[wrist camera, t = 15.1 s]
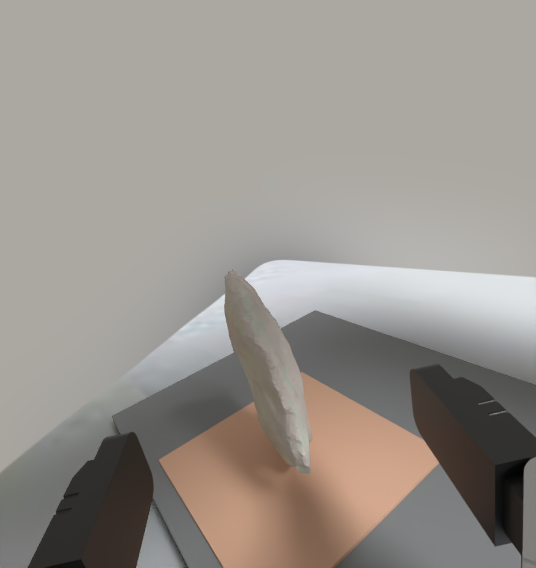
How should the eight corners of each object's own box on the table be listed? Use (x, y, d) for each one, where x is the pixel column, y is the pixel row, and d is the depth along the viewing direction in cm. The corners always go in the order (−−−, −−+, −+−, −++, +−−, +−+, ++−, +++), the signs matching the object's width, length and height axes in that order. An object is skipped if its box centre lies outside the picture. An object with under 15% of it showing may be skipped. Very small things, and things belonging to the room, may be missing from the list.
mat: (633, 433, 17) (635, 416, 16) (353, 893, 8) (347, 876, 8) (316, 318, 34) (314, 308, 33) (115, 426, 25) (110, 414, 25)
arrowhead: (247, 418, 22) (202, 251, 18) (289, 403, 22) (252, 238, 19) (291, 546, 14) (229, 307, 11) (353, 520, 15) (311, 282, 11)
